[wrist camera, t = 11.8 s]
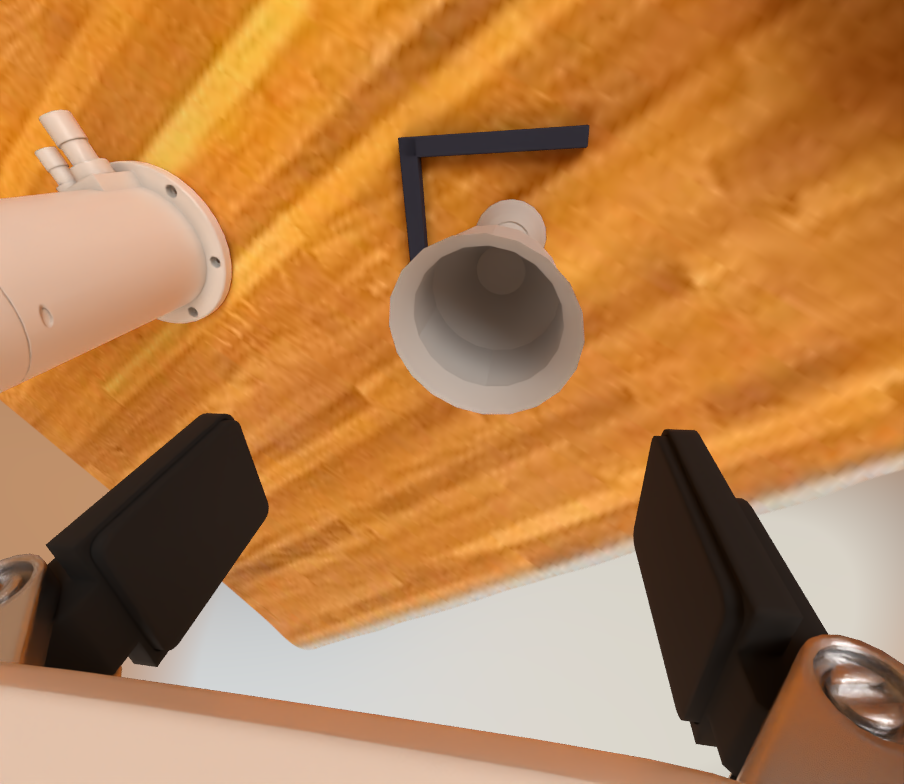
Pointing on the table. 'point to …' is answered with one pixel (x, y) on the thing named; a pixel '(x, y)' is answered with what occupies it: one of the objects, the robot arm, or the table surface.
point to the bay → (467, 145)
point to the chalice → (489, 315)
